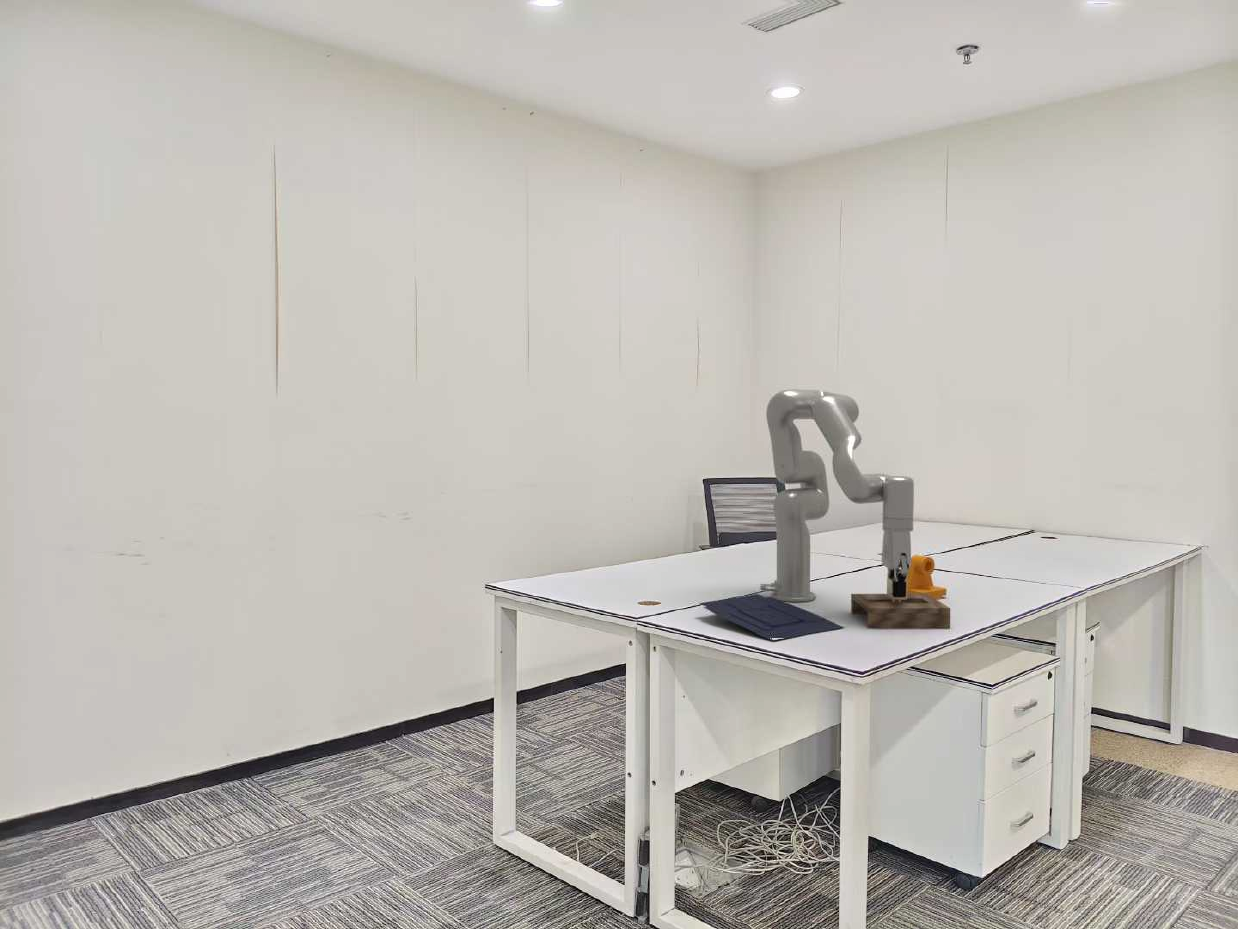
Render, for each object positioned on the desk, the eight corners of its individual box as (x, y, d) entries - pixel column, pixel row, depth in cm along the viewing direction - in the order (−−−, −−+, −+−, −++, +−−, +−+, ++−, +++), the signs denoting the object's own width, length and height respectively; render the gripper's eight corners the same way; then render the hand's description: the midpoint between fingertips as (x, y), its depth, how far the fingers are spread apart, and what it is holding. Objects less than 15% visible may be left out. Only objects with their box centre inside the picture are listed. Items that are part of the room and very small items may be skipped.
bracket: (922, 602, 252) (923, 560, 252) (902, 597, 258) (902, 556, 258) (947, 598, 258) (948, 556, 257) (927, 593, 264) (927, 553, 263)
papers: (761, 602, 247) (762, 590, 246) (843, 637, 222) (845, 623, 222) (692, 614, 233) (693, 600, 233) (771, 652, 209) (773, 638, 208)
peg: (890, 620, 228) (891, 580, 228) (885, 616, 233) (886, 577, 232) (907, 620, 228) (908, 580, 228) (902, 616, 233) (903, 577, 232)
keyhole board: (869, 628, 221) (869, 608, 221) (851, 612, 239) (851, 593, 239) (950, 628, 221) (950, 608, 221) (925, 612, 239) (926, 593, 239)
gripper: (873, 520, 237) (872, 588, 238) (893, 528, 221) (891, 602, 222) (902, 520, 237) (901, 588, 238) (923, 528, 221) (922, 602, 222)
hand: (896, 594), depth 230 cm, fingers closed on peg, 4 cm apart
